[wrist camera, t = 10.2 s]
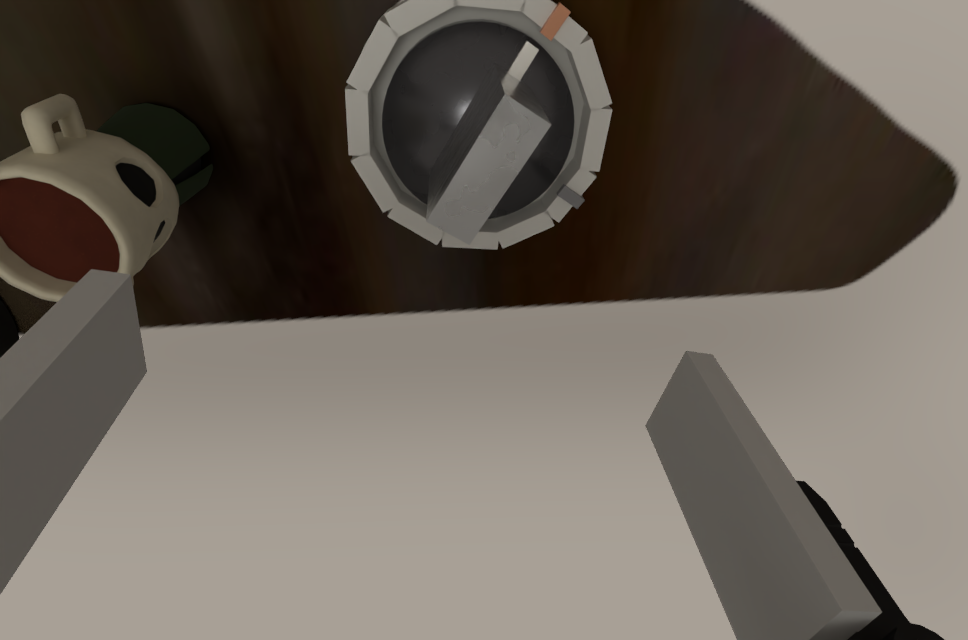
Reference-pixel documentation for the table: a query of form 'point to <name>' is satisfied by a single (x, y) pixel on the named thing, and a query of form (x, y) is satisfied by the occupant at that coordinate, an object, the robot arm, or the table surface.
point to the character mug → (93, 193)
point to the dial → (477, 123)
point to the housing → (531, 10)
